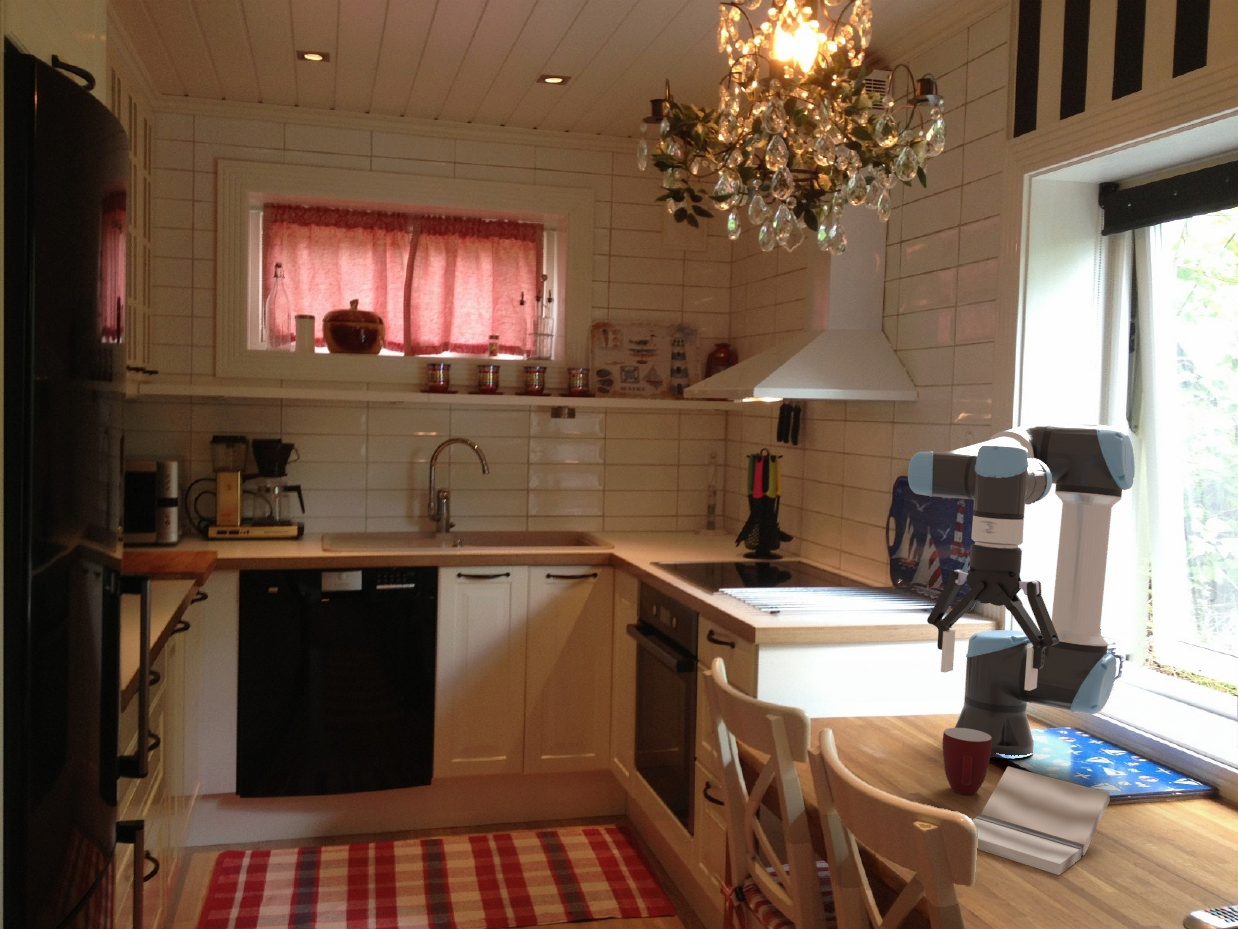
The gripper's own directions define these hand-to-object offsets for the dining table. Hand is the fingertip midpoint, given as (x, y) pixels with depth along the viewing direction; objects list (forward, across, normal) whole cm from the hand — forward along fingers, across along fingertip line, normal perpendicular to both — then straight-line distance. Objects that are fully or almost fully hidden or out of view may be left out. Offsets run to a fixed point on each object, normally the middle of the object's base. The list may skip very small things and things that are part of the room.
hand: (987, 680), depth 169 cm
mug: (+24, -9, +14) cm, 29 cm away
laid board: (+24, +8, -3) cm, 25 cm away
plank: (+21, +7, +8) cm, 23 cm away
